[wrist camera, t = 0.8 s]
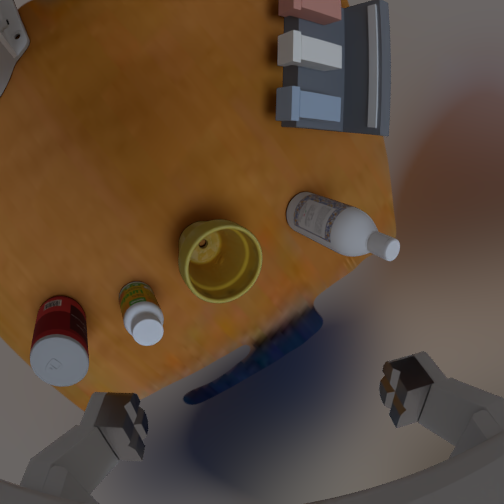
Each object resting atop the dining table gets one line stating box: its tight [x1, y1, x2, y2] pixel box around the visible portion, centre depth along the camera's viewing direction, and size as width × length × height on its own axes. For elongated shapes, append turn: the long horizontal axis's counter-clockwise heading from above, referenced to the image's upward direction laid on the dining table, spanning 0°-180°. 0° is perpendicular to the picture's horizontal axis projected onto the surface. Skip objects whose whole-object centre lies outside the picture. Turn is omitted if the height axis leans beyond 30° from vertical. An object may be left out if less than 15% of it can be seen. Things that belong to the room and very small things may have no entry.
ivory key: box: [277, 30, 342, 71], centre depth 38 cm, size 8×5×4 cm, turn 89°
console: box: [282, 0, 391, 136], centre depth 40 cm, size 11×22×12 cm, turn 178°
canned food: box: [30, 296, 89, 386], centre depth 36 cm, size 8×8×11 cm
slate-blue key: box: [276, 86, 341, 122], centre depth 41 cm, size 8×5×4 cm, turn 89°
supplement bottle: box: [119, 282, 164, 346], centre depth 41 cm, size 5×5×10 cm
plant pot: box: [178, 219, 262, 303], centre depth 43 cm, size 10×10×10 cm
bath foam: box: [286, 192, 400, 261], centre depth 46 cm, size 7×7×20 cm
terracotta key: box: [278, 0, 341, 25], centre depth 35 cm, size 8×5×4 cm, turn 88°
